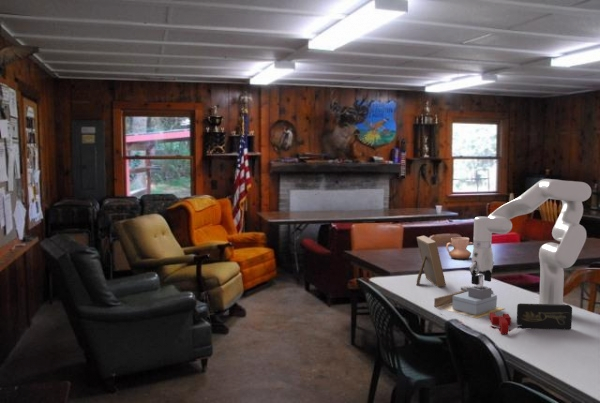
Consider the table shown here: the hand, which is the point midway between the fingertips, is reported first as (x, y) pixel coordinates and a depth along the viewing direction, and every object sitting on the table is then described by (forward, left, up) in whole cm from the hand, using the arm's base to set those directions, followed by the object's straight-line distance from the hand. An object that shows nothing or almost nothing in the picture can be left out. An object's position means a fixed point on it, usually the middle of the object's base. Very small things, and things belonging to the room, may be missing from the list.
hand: (481, 282), depth 232 cm
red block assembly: (-17, +11, -15) cm, 25 cm away
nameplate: (-27, -3, -15) cm, 31 cm away
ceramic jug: (+84, -104, -15) cm, 134 cm away
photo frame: (+53, -29, -14) cm, 62 cm away
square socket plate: (+3, 0, -12) cm, 13 cm away
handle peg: (0, 0, -6) cm, 6 cm away
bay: (+6, 0, -14) cm, 15 cm away
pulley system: (+18, -26, -15) cm, 35 cm away
